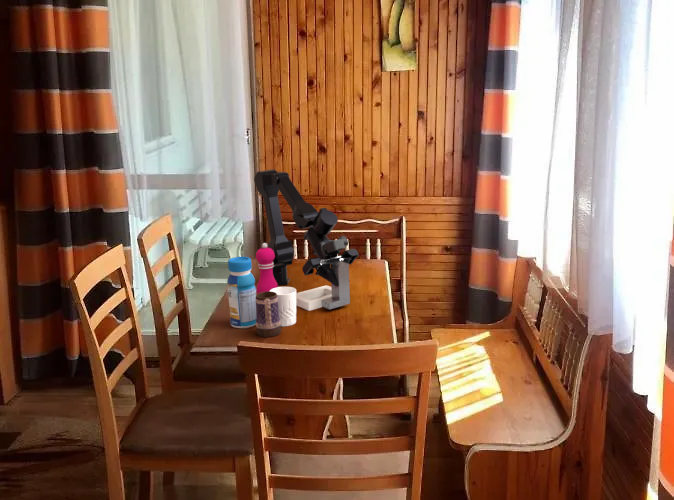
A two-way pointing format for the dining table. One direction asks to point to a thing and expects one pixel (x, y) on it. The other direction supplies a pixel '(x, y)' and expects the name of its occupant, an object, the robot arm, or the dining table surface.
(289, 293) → the white cup
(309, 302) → the block
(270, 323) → the mug
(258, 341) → the dining table surface
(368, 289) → the dining table surface
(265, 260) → the pepper mill
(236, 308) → the beverage bottle
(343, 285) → the grey block
